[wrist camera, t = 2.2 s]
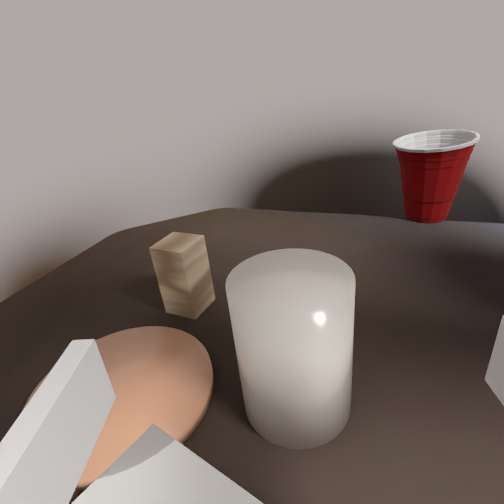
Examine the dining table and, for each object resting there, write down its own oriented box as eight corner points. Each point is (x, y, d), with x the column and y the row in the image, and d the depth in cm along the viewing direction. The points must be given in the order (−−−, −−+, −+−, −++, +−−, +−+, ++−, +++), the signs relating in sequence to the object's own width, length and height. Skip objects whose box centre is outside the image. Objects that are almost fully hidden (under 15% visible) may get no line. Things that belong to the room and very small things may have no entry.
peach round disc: (251, 387, 29) (249, 378, 28) (59, 549, 20) (53, 539, 19) (157, 315, 39) (155, 307, 38) (2, 401, 30) (-3, 393, 29)
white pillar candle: (371, 395, 27) (381, 270, 22) (305, 474, 22) (297, 339, 17) (291, 348, 32) (283, 239, 27) (223, 403, 27) (199, 284, 22)
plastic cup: (374, 209, 59) (378, 135, 53) (434, 199, 60) (444, 125, 54) (411, 235, 49) (421, 148, 44) (482, 223, 50) (501, 136, 45)
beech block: (215, 298, 40) (203, 235, 37) (195, 319, 37) (181, 252, 34) (186, 292, 42) (173, 231, 38) (165, 312, 39) (148, 248, 35)
